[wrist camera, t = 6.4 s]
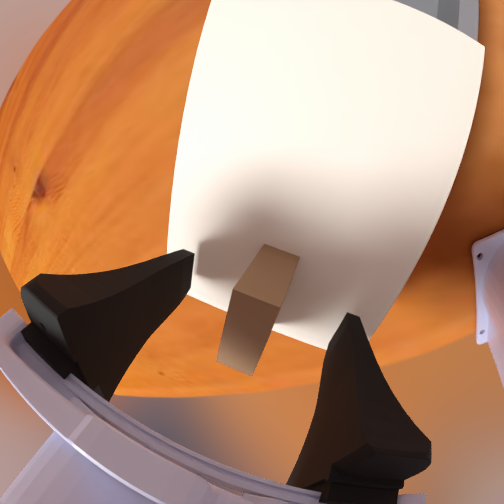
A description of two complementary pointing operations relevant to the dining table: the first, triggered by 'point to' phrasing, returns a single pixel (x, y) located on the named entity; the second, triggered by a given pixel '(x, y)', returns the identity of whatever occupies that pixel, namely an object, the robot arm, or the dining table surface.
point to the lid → (316, 161)
